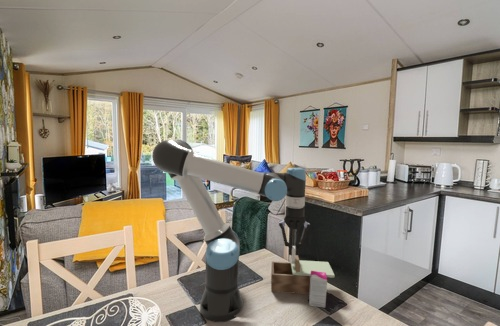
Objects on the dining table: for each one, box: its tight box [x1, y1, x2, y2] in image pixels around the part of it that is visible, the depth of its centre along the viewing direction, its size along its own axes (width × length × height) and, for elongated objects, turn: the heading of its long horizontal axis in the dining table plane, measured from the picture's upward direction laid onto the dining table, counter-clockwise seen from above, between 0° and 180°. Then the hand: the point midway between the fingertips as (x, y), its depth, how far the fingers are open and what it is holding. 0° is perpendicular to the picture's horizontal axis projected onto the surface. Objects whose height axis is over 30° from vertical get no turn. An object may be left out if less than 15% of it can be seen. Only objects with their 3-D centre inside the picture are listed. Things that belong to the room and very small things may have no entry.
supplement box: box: [308, 271, 328, 308], centre depth 96 cm, size 6×6×12 cm
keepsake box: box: [270, 261, 310, 295], centre depth 107 cm, size 16×11×8 cm
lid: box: [291, 254, 335, 279], centre depth 106 cm, size 16×11×4 cm
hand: (293, 262), depth 107 cm, fingers closed
